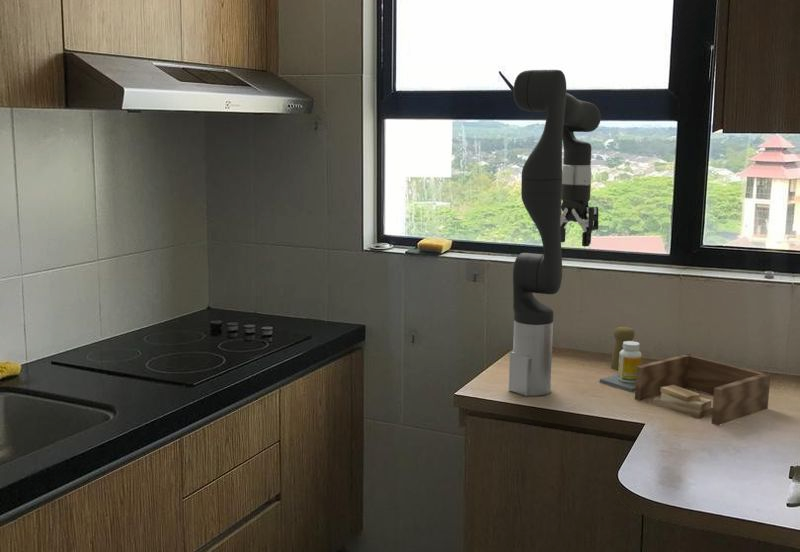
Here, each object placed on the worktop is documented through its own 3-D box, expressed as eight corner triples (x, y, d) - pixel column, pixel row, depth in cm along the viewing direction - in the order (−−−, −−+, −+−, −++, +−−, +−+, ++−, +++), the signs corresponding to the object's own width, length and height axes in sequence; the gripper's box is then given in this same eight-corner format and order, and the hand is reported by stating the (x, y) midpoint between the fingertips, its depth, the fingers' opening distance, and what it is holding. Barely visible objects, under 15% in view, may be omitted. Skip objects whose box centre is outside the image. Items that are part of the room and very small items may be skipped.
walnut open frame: (717, 425, 190) (720, 389, 188) (634, 399, 207) (636, 366, 206) (767, 408, 201) (770, 374, 200) (685, 385, 219) (687, 353, 217)
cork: (636, 371, 230) (639, 330, 228) (613, 371, 230) (615, 329, 228) (631, 365, 236) (633, 324, 234) (608, 364, 236) (610, 324, 234)
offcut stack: (698, 418, 194) (699, 400, 193) (652, 404, 203) (654, 387, 203) (713, 413, 197) (714, 395, 197) (668, 400, 207) (669, 382, 206)
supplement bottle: (613, 378, 221) (615, 341, 219) (630, 376, 223) (632, 339, 221) (627, 384, 216) (629, 346, 214) (644, 382, 218) (647, 344, 216)
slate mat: (631, 392, 213) (632, 388, 212) (599, 382, 220) (599, 378, 220) (657, 384, 219) (657, 381, 218) (625, 375, 226) (625, 372, 226)
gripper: (545, 181, 233) (543, 242, 236) (587, 184, 221) (584, 248, 224) (565, 180, 237) (563, 240, 240) (607, 183, 226) (604, 246, 229)
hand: (573, 244), depth 232 cm, fingers open, 8 cm apart
